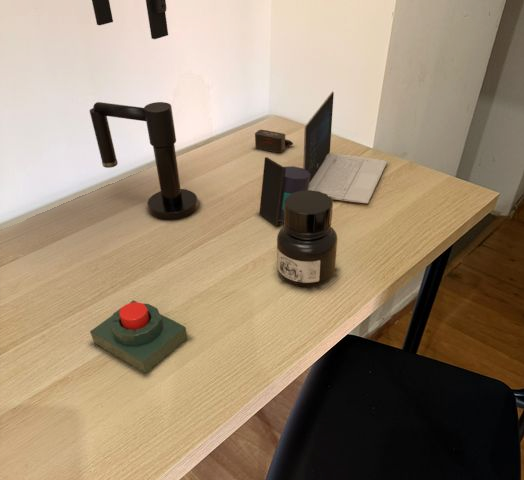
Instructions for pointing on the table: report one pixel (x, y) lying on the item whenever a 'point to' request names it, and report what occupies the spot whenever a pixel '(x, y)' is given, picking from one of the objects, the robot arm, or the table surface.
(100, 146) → the crank handle
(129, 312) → the button
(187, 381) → the table surface
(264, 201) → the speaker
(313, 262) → the ink bottle
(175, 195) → the round black base
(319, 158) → the laptop
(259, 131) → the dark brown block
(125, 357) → the control box
